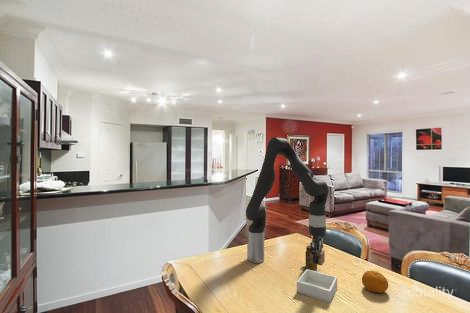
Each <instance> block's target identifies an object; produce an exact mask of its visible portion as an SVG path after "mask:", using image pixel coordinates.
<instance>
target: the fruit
mask: <svg viewBox="0 0 470 313" xmlns="http://www.w3.org/2000/svg"><path fill="white" fill-rule="evenodd" d="M361 277H362V278H361V283H362V285H363V287H364V288H365V289H366V290H368V291H369V292H372V293H377V294H382V293H384V292H386V291H387V290H388V288H389V281H388V279H387V277H386V276H385V275H383V274H382V273H381V272H379V271H376V270H366V271H365V272H364V273H363V274H362V276H361Z"/></svg>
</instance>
